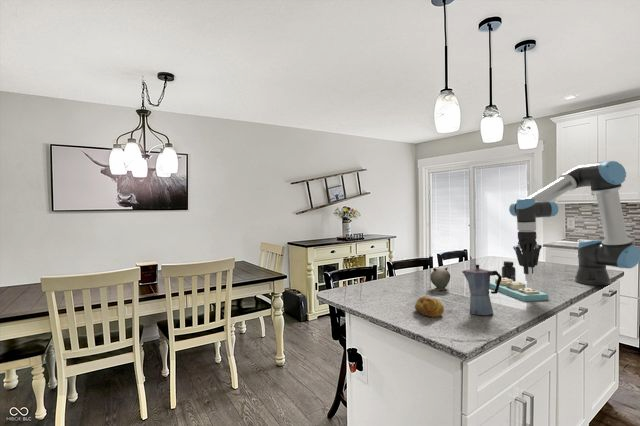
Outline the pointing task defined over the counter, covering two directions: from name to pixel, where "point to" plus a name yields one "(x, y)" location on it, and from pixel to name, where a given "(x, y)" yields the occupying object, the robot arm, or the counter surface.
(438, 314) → the bread roll
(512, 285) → the key two
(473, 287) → the moka pot
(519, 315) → the counter surface
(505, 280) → the key one
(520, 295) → the teal puzzle board
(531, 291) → the key three
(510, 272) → the supplement bottle
